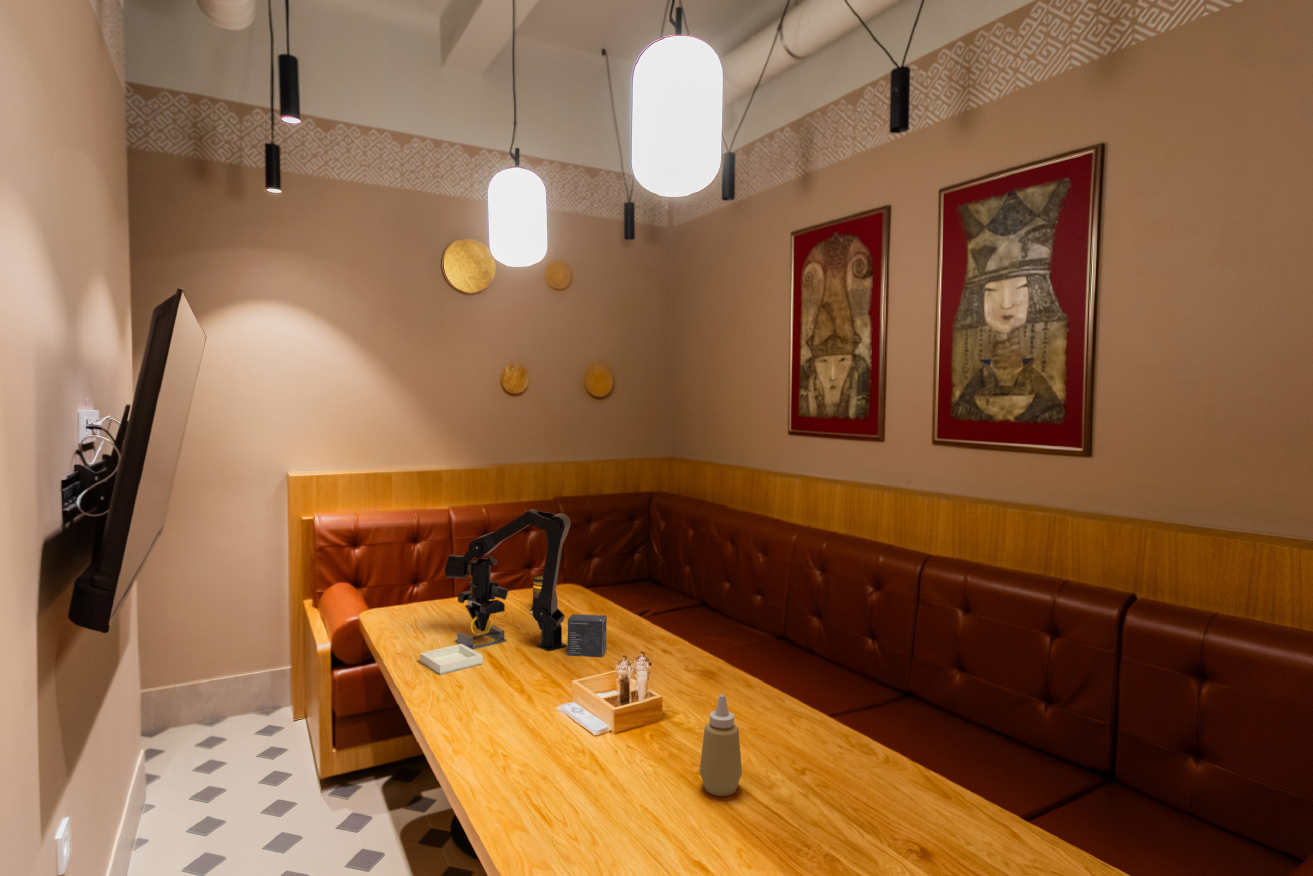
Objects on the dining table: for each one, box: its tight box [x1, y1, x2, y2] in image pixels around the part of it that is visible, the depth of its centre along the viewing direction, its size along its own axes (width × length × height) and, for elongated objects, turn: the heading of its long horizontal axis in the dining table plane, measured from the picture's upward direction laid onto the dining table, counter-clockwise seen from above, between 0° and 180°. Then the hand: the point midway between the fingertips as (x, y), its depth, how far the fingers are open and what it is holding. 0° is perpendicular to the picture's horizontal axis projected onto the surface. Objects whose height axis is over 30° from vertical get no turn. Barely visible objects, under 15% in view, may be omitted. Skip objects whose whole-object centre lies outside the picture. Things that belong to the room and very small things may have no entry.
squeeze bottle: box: [699, 694, 743, 797], centre depth 136 cm, size 8×8×18 cm
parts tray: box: [419, 643, 483, 676], centre depth 199 cm, size 12×12×2 cm
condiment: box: [528, 575, 543, 615], centre depth 250 cm, size 7×8×12 cm
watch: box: [470, 617, 492, 635], centre depth 217 cm, size 6×3×6 cm, turn 120°
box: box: [566, 613, 608, 658], centre depth 209 cm, size 11×7×10 cm, turn 84°
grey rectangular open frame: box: [454, 624, 507, 650], centre depth 217 cm, size 9×12×3 cm
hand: (480, 630), depth 217 cm, fingers closed on watch, 2 cm apart
